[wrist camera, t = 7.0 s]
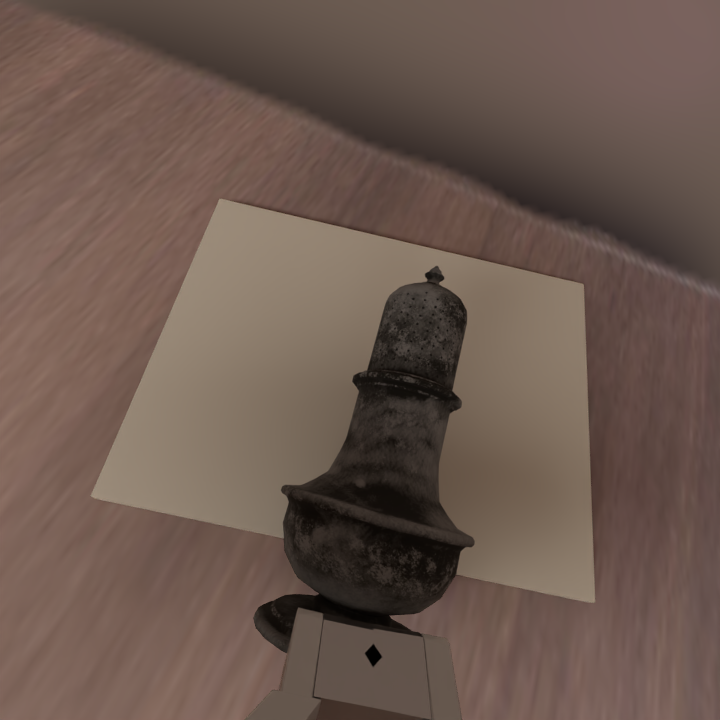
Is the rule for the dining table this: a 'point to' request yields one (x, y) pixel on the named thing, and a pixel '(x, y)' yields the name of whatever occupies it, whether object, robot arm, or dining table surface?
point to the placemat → (339, 394)
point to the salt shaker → (382, 479)
